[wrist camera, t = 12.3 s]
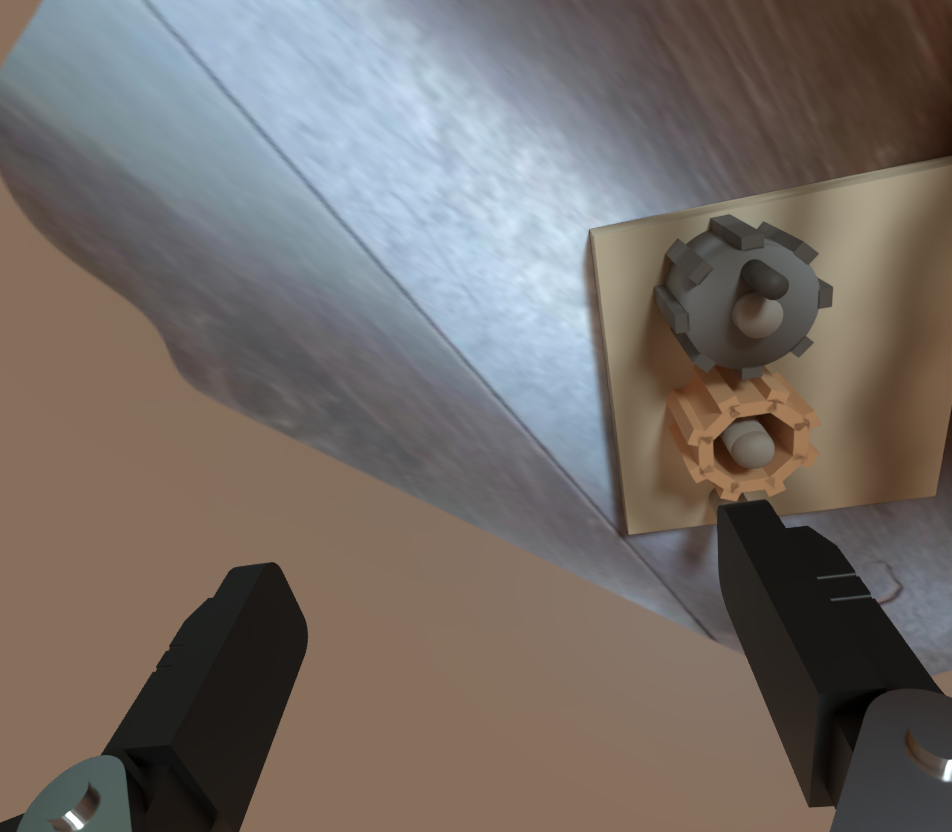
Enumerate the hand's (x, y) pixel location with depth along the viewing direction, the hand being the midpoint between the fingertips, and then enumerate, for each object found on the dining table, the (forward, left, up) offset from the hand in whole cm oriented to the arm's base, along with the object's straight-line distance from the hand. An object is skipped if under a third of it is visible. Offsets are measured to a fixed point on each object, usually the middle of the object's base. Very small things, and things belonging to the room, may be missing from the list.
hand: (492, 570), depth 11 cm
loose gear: (-11, +10, -22) cm, 27 cm away
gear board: (-14, +9, -24) cm, 29 cm away
